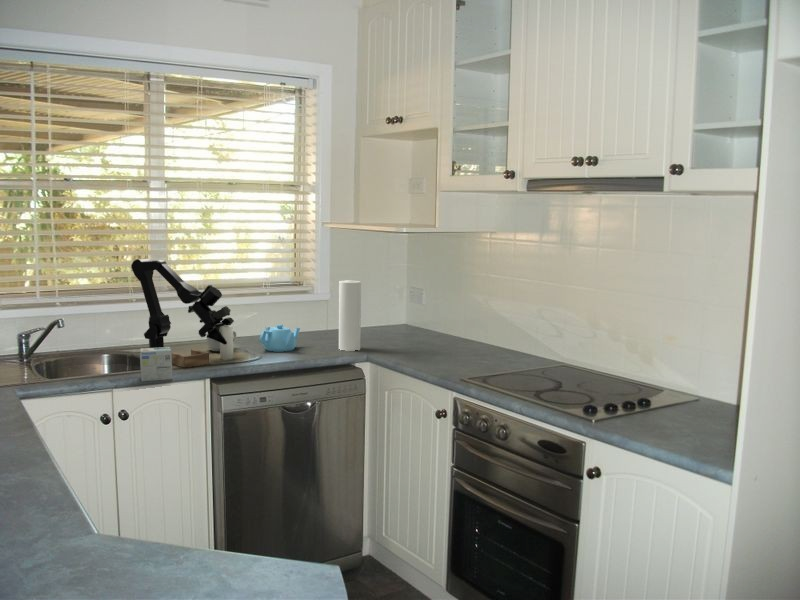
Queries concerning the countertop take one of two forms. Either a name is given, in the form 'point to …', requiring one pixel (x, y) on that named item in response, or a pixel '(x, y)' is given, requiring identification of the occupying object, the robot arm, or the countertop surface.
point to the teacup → (216, 343)
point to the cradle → (190, 359)
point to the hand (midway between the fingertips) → (229, 342)
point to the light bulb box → (156, 364)
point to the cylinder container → (349, 315)
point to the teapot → (279, 338)
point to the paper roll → (227, 349)
